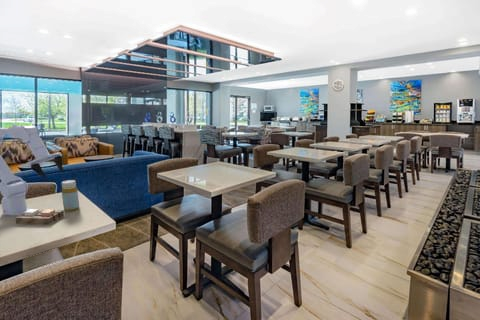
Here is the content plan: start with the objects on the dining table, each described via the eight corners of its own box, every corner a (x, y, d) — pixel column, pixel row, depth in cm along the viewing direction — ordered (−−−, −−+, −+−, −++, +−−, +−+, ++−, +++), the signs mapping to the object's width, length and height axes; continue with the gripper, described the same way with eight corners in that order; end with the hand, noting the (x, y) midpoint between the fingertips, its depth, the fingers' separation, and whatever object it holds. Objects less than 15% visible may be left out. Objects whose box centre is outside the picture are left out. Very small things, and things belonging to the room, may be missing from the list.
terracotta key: (41, 218, 131) (40, 212, 131) (47, 215, 135) (46, 209, 134) (49, 218, 131) (48, 212, 130) (55, 215, 135) (54, 209, 134)
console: (16, 223, 129) (15, 217, 128) (32, 215, 139) (32, 209, 138) (49, 224, 128) (48, 218, 128) (64, 216, 138) (63, 210, 137)
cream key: (25, 218, 131) (24, 212, 131) (31, 214, 135) (30, 209, 135) (33, 218, 131) (32, 212, 131) (39, 215, 135) (38, 209, 135)
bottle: (72, 212, 143) (69, 183, 140) (60, 211, 144) (57, 183, 141) (82, 207, 150) (79, 180, 147) (71, 206, 151) (68, 179, 148)
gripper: (22, 151, 123) (38, 178, 124) (57, 141, 134) (71, 166, 135) (20, 157, 128) (35, 183, 128) (53, 146, 139) (67, 170, 139)
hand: (53, 174), depth 132 cm, fingers open, 7 cm apart
